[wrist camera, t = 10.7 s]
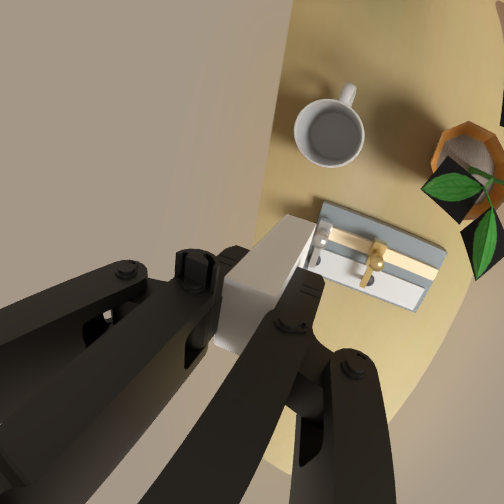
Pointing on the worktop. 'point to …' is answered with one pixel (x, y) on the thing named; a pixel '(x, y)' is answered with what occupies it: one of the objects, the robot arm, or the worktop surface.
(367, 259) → the brass slider pointer
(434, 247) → the board
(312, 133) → the mug
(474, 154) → the potted plant
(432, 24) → the worktop surface
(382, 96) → the worktop surface
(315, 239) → the fixed leg
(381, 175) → the worktop surface
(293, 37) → the worktop surface
